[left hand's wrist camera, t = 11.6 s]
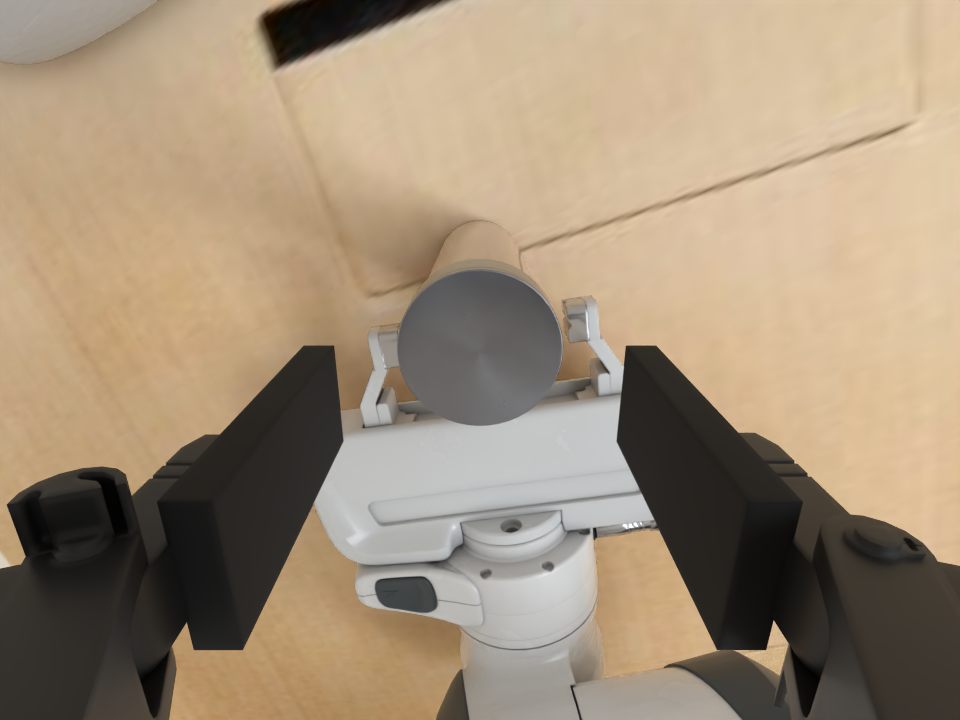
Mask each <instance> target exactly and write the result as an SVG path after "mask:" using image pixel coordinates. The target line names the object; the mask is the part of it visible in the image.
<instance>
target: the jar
mask: <svg viewBox="0 0 960 720" xmlns="http://www.w3.org/2000/svg"><path fill="white" fill-rule="evenodd" d="M469 259H492V260H497V261H501V262H504V263H507V264H510V265H512V266H514V267H516V268H518V269H520V270H522V271H523V272H524V273H526V274H527V275H529V276H530V273H529V271H528V269H527V267H526V264H525V262H524V260H523V257H522V255H521V253H520V250H519V248H518V246H517V243H516V242H515V240H514V238H513V237H512V236H511V235H510V233H509V232H507V231H506V230H505V229H504V228H502V227H501V226H499V225H497V224H494V223H492V222H487V221H473V222H468V223H465V224H463V225H461V226H459V227H458V228H456V229H455V230H454V231H453V232H451V233H450V235H449V236H448V237H447V238H446V240H445V242H444V244H443V246H442V248H441V250H440V252H439V255H438V257H437V259H436V262H435V264H434V266H433V269H432V271H431V273H430V275H429V277H430V276H432V275H433V274H434V273H435V272H437V271H439V270H440V269H442V268H444V267H446V266H448V265H450V264H453V263H456V262H459V261H463V260H469ZM530 277H531V276H530Z"/></svg>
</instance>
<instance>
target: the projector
mask: <svg viewBox="0 0 960 720" xmlns="http://www.w3.org/2000/svg"><path fill="white" fill-rule="evenodd" d="M157 1H159V0H0V61H2V62H6V63H14V64H36V63H41V62H45V61H49V60H52V59H54V58H57V57H60V56H63V55H65V54H68V53H70V52H72V51H74V50H76V49H79V48H81V47H83V46H85V45H87V44H89V43H91V42H93V41H94V40H96V39H98V38H100V37H102V36H104V35H105V34H107V33H109V32H111V31H113V30H114V29H116V28H118V27H119V26H121V25H122V24H124V23H126V22H127V21H129V20H130V19H132V18H134V17H135V16H137V15H138V14H140V13H141V12H143V11H145V10H146V9H147V8H149V7H150V6H152V5H153V4H154V3H156V2H157Z"/></svg>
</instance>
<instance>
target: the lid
mask: <svg viewBox="0 0 960 720" xmlns="http://www.w3.org/2000/svg"><path fill="white" fill-rule="evenodd" d="M397 356H398V362H399V366H400V370H401V373H402V375H403V378H404V380H405V382H406V384H407V386H408V387H409V389H410V390H411V392H412V393H413V394H414V396H415V397H416V398H417V399H418V400H419V401H420V402H421V403H422V404H423V405H424V406H426V407H427V408H428V409H429V410H431V411H432V412H434V413H435V414H437V415H439V416H441V417H443V418H445V419H447V420H450V421H453V422H456V423H460V424H465V425H473V426H488V425H495V424H500V423H504V422H507V421H510V420H512V419H515V418H517V417H519V416H521V415H523V414H525V413H526V412H528V411H529V410H531V409H532V408H533V407H535V406H536V405H537V404H538V403H539V402H540V401H541V400H542V399H543V398H544V397H545V395H546V394H547V393H548V392H549V390H550V389H551V387H552V385H553V384H554V382H555V380H556V378H557V375H558V373H559V370H560V366H561V362H562V356H563V339H562V332H561V329H560V325H559V322H558V320H557V317H556V315H555V313H554V311H553V308H552V306H551V304H550V302H549V300H548V298H547V297H546V295H545V293H544V292H543V290H542V289H541V288H540V286H539V285H538V284H537V283H536V282H535V281H534V280H533V279H532V278H531V277H530V276H529V275H527V274H526V273H524V272H523V271H522V270H520V269H518V268H516V267H514V266H512V265H510V264H507V263H504V262H501V261H497V260H492V259H469V260H463V261H459V262H456V263H453V264H450V265H448V266H446V267H444V268H442V269H440V270H439V271H437V272H435V273H434V274H433V275H432V276H430V277H429V278H428V279H427V280H426V281H425V282H424V283H423V284H422V285H421V286H420V287H419V289H418V290H417V292H416V293H415V295H414V296H413V298H412V301H411V303H410V305H409V307H408V309H407V311H406V313H405V315H404V317H403V319H402V322H401V325H400V328H399V333H398V338H397Z"/></svg>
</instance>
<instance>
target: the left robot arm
mask: <svg viewBox="0 0 960 720" xmlns="http://www.w3.org/2000/svg"><path fill="white" fill-rule="evenodd" d="M343 442H344V440H343V430H342V420H341V410H340V400H339V391H338V381H337V371H336V361H335V351H334V346H303V347H302V348H301V349H300V350H299V351H298V352H297V354H296V355H295V356H294V357H293V358H292V359H291V360H290V361H289V362H288V363H287V364H286V365H285V366H284V367H283V368H282V369H281V371H280V372H279V373H278V374H277V375H276V376H275V377H274V378H273V379H272V380H271V381H270V382H269V383H268V384H267V385H266V386H265V387H264V389H263V390H262V391H261V392H260V393H259V394H258V395H257V396H256V397H255V398H254V399H253V400H252V401H251V402H250V403H249V404H248V406H247V407H246V408H245V409H244V410H243V411H242V412H241V413H240V414H239V415H238V416H237V417H236V418H235V419H234V420H233V421H232V422H231V424H230V425H229V426H228V427H227V428H226V429H225V430H224V431H223V432H222V433H221V434H220V435H204V436H202V437H200V438H199V439H197V440H195V441H193V442H191V443H189V444H188V445H186V446H184V447H182V448H181V449H180V450H179V451H178V452H177V453H176V454H175V455H174V456H173V457H172V458H171V459H170V460H169V461H168V462H167V463H166V466H162V467H161V468H160V469H159V470H158V471H157V472H156V473H155V474H154V475H153V479H149V480H148V481H147V482H146V483H145V484H144V485H143V486H142V487H141V488H140V489H139V490H138V491H137V492H136V493H134V494H133V495H132V496H131V492H130V489H129V485H128V481H127V478H126V474H124V473H123V472H121V471H120V470H118V469H116V468H108V467H93V468H82V469H78V470H74V471H69V472H65V473H61V474H58V475H55V476H53V477H50V478H48V479H45V480H42V481H40V482H37V483H36V484H34V485H32V486H30V487H29V488H27V489H25V490H23V491H22V492H20V493H19V494H17V495H16V496H15V497H14V498H13V499H12V500H11V501H10V502H9V503H8V504H7V507H8V509H9V512H10V515H11V518H12V520H13V523H14V526H15V528H16V531H17V534H18V537H19V539H20V542H21V545H22V547H23V550H24V553H25V556H26V557H25V559H24V561H23V563H22V564H21V565H16V566H11V567H7V568H1V569H0V720H169V716H170V709H171V703H172V696H173V689H174V683H175V676H176V661H175V656H174V652H173V648H172V645H173V643H174V641H175V640H176V638H177V637H178V635H179V633H180V632H181V630H182V629H183V627H184V626H185V624H186V622H187V624H188V628H189V632H190V636H191V640H192V644H193V648H194V650H243V649H244V646H245V644H246V642H247V640H248V638H249V636H250V634H251V632H252V630H253V628H254V626H255V624H256V622H257V620H258V618H259V615H260V613H261V611H262V609H263V607H264V605H265V603H266V601H267V599H268V597H269V595H270V593H271V591H272V589H273V586H274V584H275V582H276V580H277V578H278V576H279V574H280V572H281V570H282V568H283V566H284V564H285V562H286V560H287V557H288V555H289V553H290V551H291V549H292V547H293V545H294V543H295V541H296V539H297V537H298V535H299V533H300V531H301V529H302V526H303V524H304V522H305V520H306V518H307V516H308V514H309V512H310V510H311V508H312V506H313V504H314V502H315V500H316V497H317V495H318V493H319V491H320V489H321V487H322V485H323V483H324V481H325V479H326V477H327V475H328V473H329V471H330V468H331V466H332V464H333V462H334V460H335V458H336V456H337V454H338V452H339V450H340V448H341V446H342V444H343ZM616 442H617V444H618V446H619V448H620V450H621V452H622V454H623V456H624V458H625V460H626V462H627V464H628V466H629V468H630V471H631V473H632V475H633V477H634V479H635V481H636V483H637V485H638V487H639V489H640V491H641V493H642V495H643V497H644V500H645V502H646V504H647V506H648V508H649V510H650V512H651V514H652V516H653V518H654V520H655V522H656V524H657V526H658V529H659V531H660V533H661V535H662V537H663V539H664V541H665V543H666V545H667V547H668V549H669V551H670V553H671V555H672V557H673V560H674V562H675V564H676V566H677V568H678V570H679V572H680V574H681V576H682V578H683V580H684V582H685V584H686V586H687V589H688V591H689V593H690V595H691V597H692V599H693V601H694V603H695V605H696V607H697V609H698V611H699V613H700V615H701V618H702V620H703V622H704V624H705V626H706V628H707V630H708V632H709V634H710V636H711V638H712V640H713V642H714V644H715V647H716V649H717V650H766V648H767V644H768V640H769V636H770V632H771V628H772V624H773V620H774V621H775V623H776V624H777V626H778V627H779V629H780V631H781V632H782V634H783V635H784V637H785V638H786V640H787V642H788V643H789V645H788V648H787V652H786V656H785V659H784V663H783V667H782V671H781V674H780V678H779V682H778V685H777V689H776V693H775V700H774V706H776V707H779V708H782V706H783V703H784V699H785V695H788V701H789V708H790V714H791V720H960V566H957V565H952V564H947V563H942V562H938V561H937V560H936V558H935V556H934V555H933V554H932V553H931V552H930V550H929V549H928V548H927V547H926V546H925V545H924V544H923V543H922V542H921V541H919V540H918V539H916V538H915V537H913V536H912V535H910V534H909V533H907V532H906V531H904V530H902V529H899V528H897V527H895V526H893V525H891V524H888V523H886V522H883V521H880V520H876V519H873V518H869V517H866V516H859V515H850V514H849V513H848V512H847V511H846V510H845V509H844V508H843V507H842V506H841V505H840V504H839V503H838V502H837V501H836V500H835V499H833V498H832V497H831V496H830V495H829V494H828V493H827V492H826V491H825V490H824V489H823V488H822V487H821V486H820V485H819V484H818V483H817V482H816V481H815V480H814V479H813V478H812V477H808V476H807V473H806V472H805V471H804V470H803V469H802V468H801V467H800V466H799V465H798V464H794V460H793V459H792V458H791V457H790V456H789V455H788V454H787V453H786V452H785V451H784V450H782V449H781V448H780V447H779V446H778V445H776V444H774V443H773V442H771V441H769V440H767V439H765V438H763V437H762V436H760V435H758V434H756V433H738V432H737V431H736V430H735V429H734V428H733V427H732V426H731V425H730V424H729V422H728V421H727V420H726V419H725V418H724V417H723V416H722V415H721V414H720V413H719V412H718V411H717V410H716V409H715V408H714V407H713V406H712V404H711V403H710V402H709V401H708V400H707V399H706V398H705V397H704V396H703V395H702V394H701V393H700V392H699V391H698V390H697V389H696V387H695V386H694V385H693V384H692V383H691V382H690V381H689V380H688V379H687V378H686V377H685V376H684V375H683V374H682V373H681V372H680V371H679V369H678V368H677V367H676V366H675V365H674V364H673V363H672V362H671V361H670V360H669V359H668V358H667V357H666V356H665V355H664V354H663V352H662V351H661V350H660V349H659V348H658V347H657V346H626V351H625V361H624V371H623V381H622V391H621V400H620V410H619V420H618V430H617V440H616Z"/></svg>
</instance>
